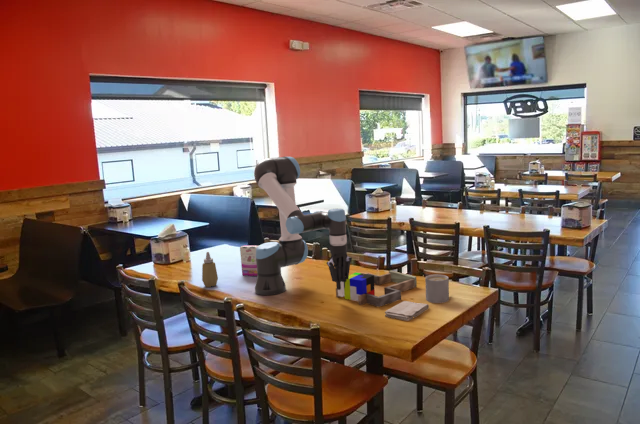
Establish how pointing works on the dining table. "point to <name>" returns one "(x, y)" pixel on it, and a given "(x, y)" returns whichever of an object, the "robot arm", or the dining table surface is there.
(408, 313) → the washcloth
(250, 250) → the candy bar box
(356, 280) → the puzzle toy
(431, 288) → the coffee mug
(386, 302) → the trap lane
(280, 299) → the dining table surface
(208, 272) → the squeeze bottle
